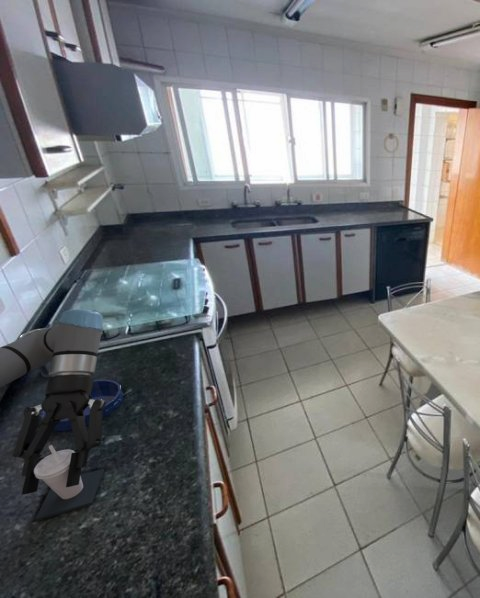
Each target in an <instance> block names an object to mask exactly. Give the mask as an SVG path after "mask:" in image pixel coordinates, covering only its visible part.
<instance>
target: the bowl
mask: <svg viewBox="0 0 480 598" xmlns="http://www.w3.org/2000/svg"><path fill="white" fill-rule="evenodd" d="M91 397H92V399H93V400H105V401H106V404H105V407H104V409H103V413H102V420H103V419H105V418H106V417H108V416H109V415H110V414H112V413H113V412H115V410H117V409H118V407H120V406H121V404H122V402H123V400H124V391H123V389H122V386H121V384H120V383H119V382H117V381H116V380H112V379H94V381H93V387H92V391H91ZM89 406H90V405H89ZM89 406H88V407H87V408H86V409H85V410H84V414H85V425H86V427H89V414H90V408H89ZM42 412H43V413H42V414H41V415H40V420H41V421H42V420H43V418H44V417H45V415H46V413H45V412H44V410H43V411H42ZM51 420H52V419H51ZM68 431H72V426H71V422H69V420H68V418H66V419H63V420H61V421H60V422H59V424H57V425H56V427H55V428H54V430H53V432H68Z"/></svg>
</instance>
